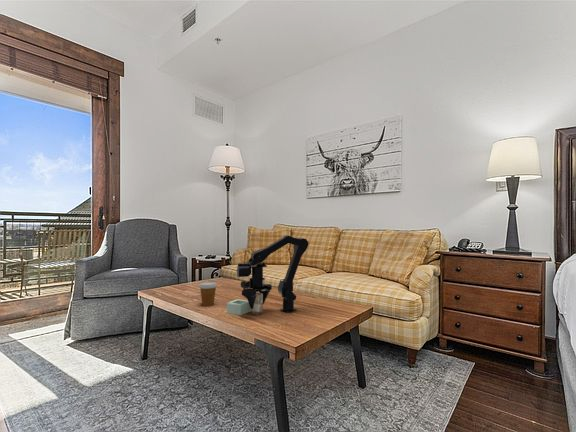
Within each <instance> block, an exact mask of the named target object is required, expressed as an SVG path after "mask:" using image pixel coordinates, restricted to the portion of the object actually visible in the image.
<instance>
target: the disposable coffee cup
mask: <svg viewBox="0 0 576 432" xmlns="http://www.w3.org/2000/svg"><path fill="white" fill-rule="evenodd" d="M217 285H218V284H217V282H215V281H214V282H213V281H204V282H201V283H200V284H199V288H200V296H201V305H202V306H203V307H211V306H214V304H215V296H216V289H217Z"/></svg>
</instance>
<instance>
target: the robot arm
mask: <svg viewBox="0 0 576 432" xmlns="http://www.w3.org/2000/svg"><path fill="white" fill-rule="evenodd" d="M287 244H290V245H293V254H292V257H291V259H290V262H289V265H288V268H287V271H286V274H285V275H284V276H285V277H284V278H283V280H282V279H280V280H279V282H278V285H277V291H278V294H280V296H281V298H283V299H282V308H281V309H280V312H284V313H285V312H286V313H292V312H294V311H297V307H295V301H297V300H296V299H297V295H296V294H295V293H294V292H293V290H294V289H293V288H294V279H295V276H296V273H297V271H298V268H299V264H300V261H301V258H302V256H303V255H304V254H305V253H306V251H307V249H308V248H309V246H310V245H309V241H308V239H307V238H304V237H293V236H291V235H284V236H283V237H281V238H279V239H277V240H276V241H274V242H273V243H270V244H269V245H267V246H266V247H264V248H263V247H262V248H260V249H257V250H255V251H253V252H251V254H250V258H249V259H248V261H247V262H246V263H245V262H243V263H241V262H240V263H238V262H237V266H236V276H237V278H245V277H249V276H251V277H250V278H249V281H246V280H242V281H241V282H240V287H241V288H242V291H241V296H243V297H244V298H246V299H247V301H248V302H249V305H250V308H251V309H253V307H254V303H255V299H256V296H255V294H256V293H262V294H263V305H264V304H265V302H266V300H267V298H268V296H269V294H270V293H271V291H272V290H273V289H272V288H273V286H272V284H271V283H264V281H265V277H264V268H267V267H268V266H267V265H266V263H265V262H264V261H265V260H266V259H268V257H269V256H270V255H271V254H273V253H274V252H276V251H278V250H280V249H281V248H283V247H284V246H287Z"/></svg>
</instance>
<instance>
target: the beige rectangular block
mask: <svg viewBox="0 0 576 432" xmlns="http://www.w3.org/2000/svg"><path fill="white" fill-rule="evenodd" d="M255 296H256V299H255V303H254V307H253V309H252V311H251V312H252V313H253V315H256V316H257V315H260V314H262V311H263V310H264V309H263V308H264V306H263V305H264V304H263V294H262V293H260V292H256V294H255Z"/></svg>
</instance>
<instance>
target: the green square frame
mask: <svg viewBox="0 0 576 432" xmlns="http://www.w3.org/2000/svg"><path fill="white" fill-rule="evenodd" d="M249 312H253V311H252V309H251V308H250V305H249V302H248V299H247V300H246V299H239V298H237V299H235V300H231V301H227V302H226V313H227V314H231V315H232V314H233V315H236V316H237V315H238V316H243V315H245V314H248V313H249Z"/></svg>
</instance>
